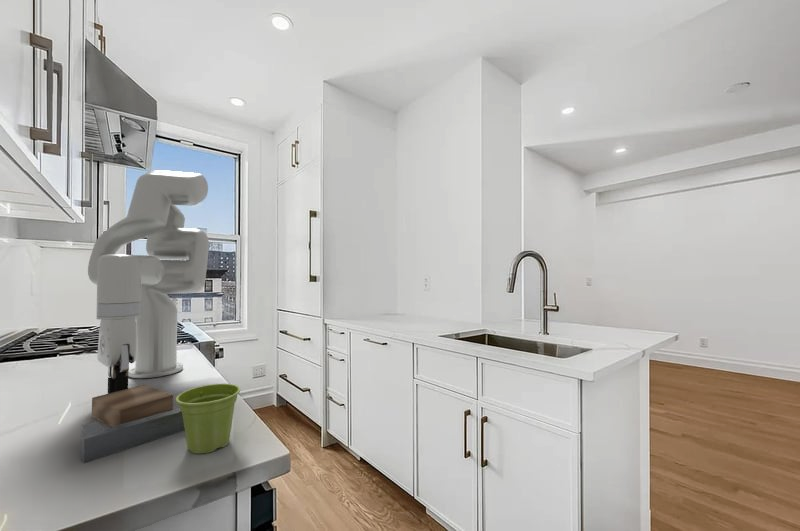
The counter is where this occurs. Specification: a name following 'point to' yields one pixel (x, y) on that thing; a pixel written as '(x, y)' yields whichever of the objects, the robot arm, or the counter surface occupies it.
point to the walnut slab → (130, 405)
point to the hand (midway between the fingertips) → (117, 394)
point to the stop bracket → (127, 434)
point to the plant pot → (208, 415)
